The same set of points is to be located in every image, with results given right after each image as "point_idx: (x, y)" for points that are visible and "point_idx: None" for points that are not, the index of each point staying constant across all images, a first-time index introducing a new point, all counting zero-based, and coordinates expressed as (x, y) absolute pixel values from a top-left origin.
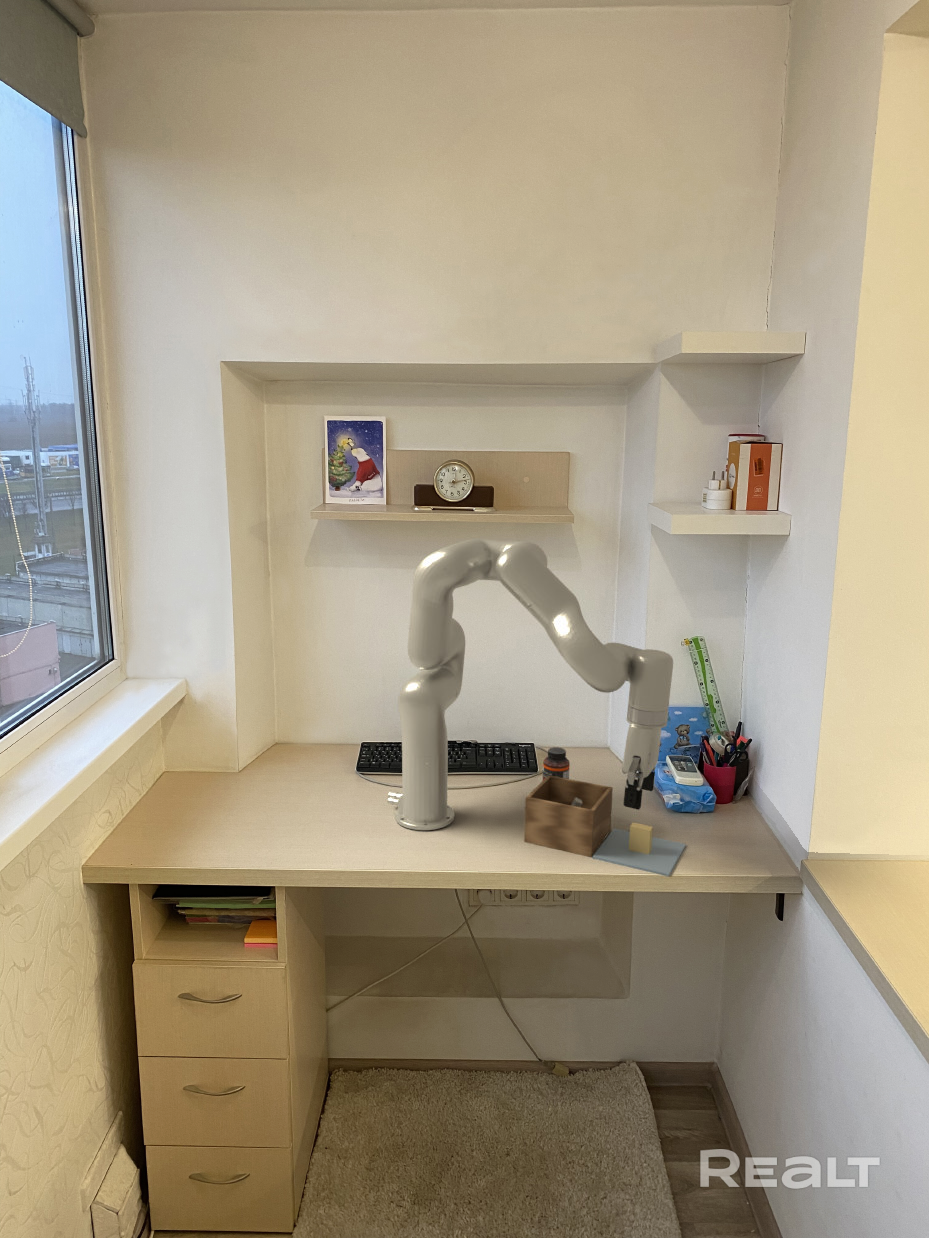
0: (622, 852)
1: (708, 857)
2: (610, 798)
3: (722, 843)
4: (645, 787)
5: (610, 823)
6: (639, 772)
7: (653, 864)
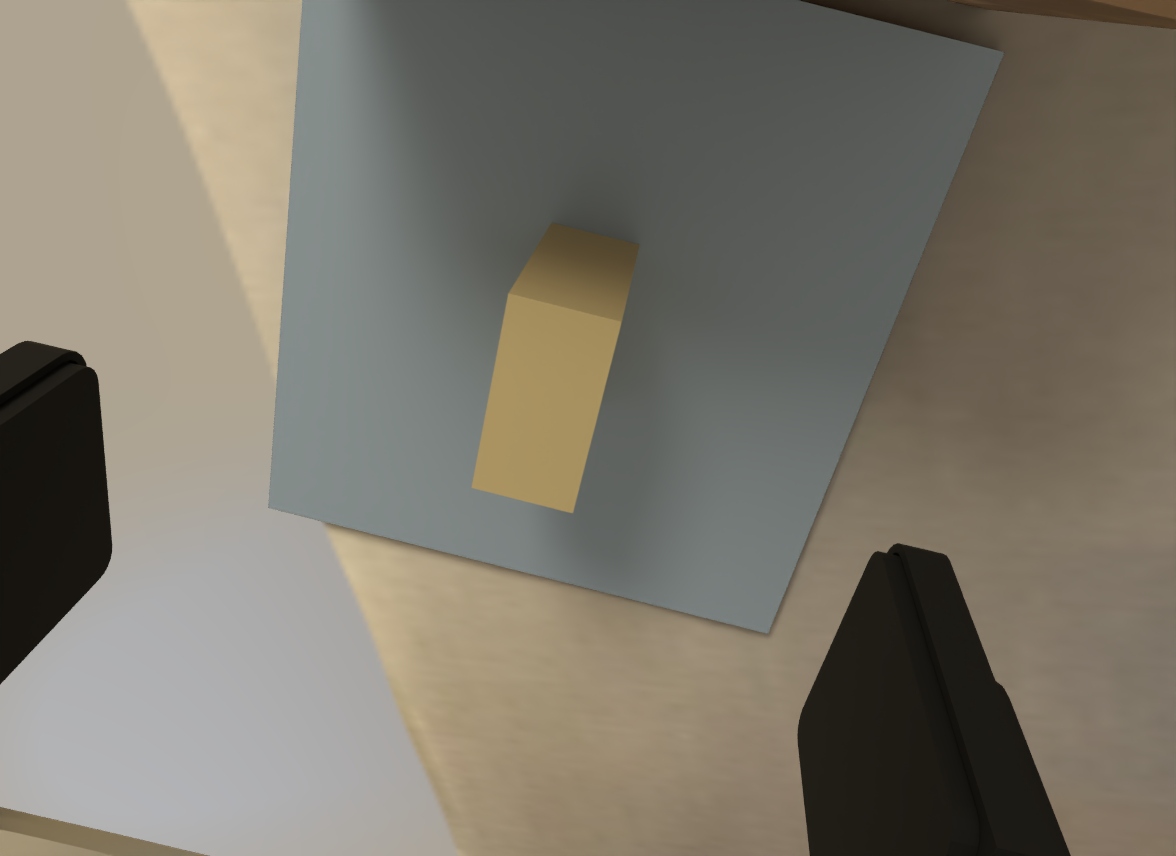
0: (485, 170)
1: (624, 731)
2: (1069, 5)
3: None
4: (832, 679)
5: (1002, 9)
6: (938, 805)
7: (367, 415)
